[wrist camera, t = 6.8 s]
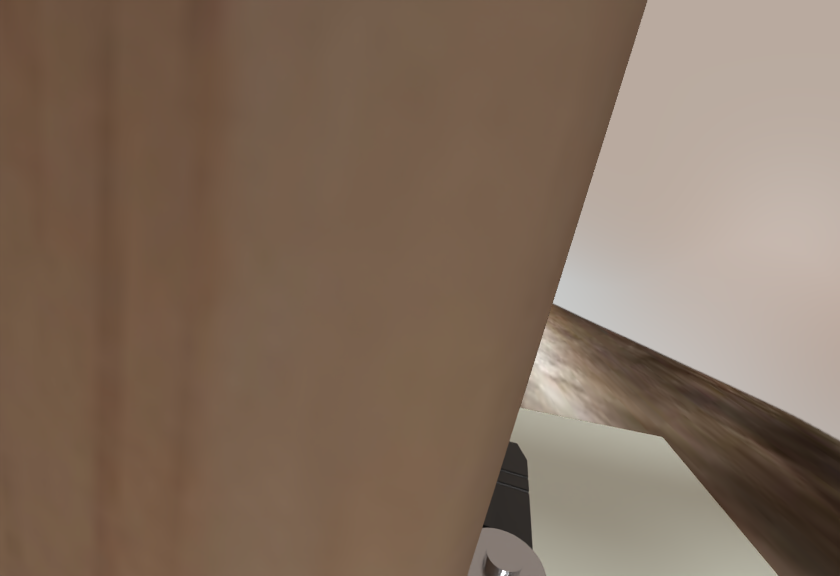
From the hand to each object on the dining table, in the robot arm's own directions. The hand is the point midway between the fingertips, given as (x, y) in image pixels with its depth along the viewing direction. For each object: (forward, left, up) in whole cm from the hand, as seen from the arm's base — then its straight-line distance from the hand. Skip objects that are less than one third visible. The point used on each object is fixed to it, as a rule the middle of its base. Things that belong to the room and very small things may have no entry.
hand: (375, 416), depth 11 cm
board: (-15, -14, -12) cm, 24 cm away
